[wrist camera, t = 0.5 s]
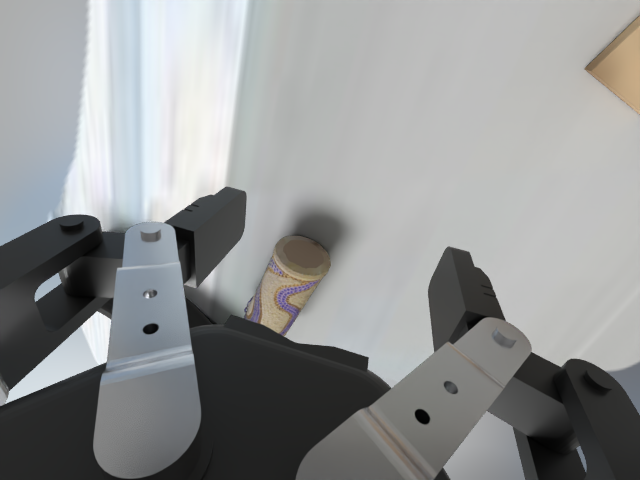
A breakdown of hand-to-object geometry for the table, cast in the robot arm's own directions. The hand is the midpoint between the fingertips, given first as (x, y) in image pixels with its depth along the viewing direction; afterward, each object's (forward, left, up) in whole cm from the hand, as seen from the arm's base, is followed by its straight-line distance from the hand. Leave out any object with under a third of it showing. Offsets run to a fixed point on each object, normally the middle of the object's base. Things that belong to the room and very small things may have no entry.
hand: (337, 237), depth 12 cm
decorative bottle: (+30, +3, -23) cm, 38 cm away
